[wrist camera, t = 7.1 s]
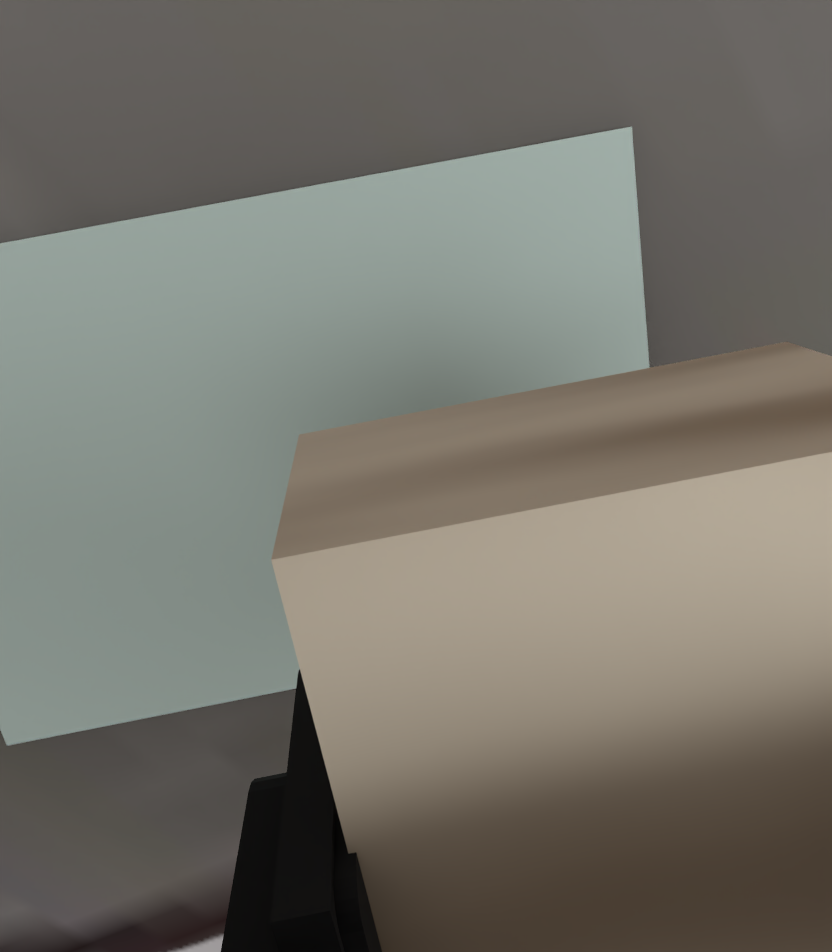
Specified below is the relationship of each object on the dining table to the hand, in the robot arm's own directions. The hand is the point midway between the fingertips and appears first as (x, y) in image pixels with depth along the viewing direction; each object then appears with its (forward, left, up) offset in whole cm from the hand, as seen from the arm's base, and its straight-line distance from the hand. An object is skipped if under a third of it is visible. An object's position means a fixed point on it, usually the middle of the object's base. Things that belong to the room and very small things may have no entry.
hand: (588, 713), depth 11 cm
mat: (-5, 0, -14) cm, 15 cm away
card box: (0, 0, 0) cm, 0 cm away
